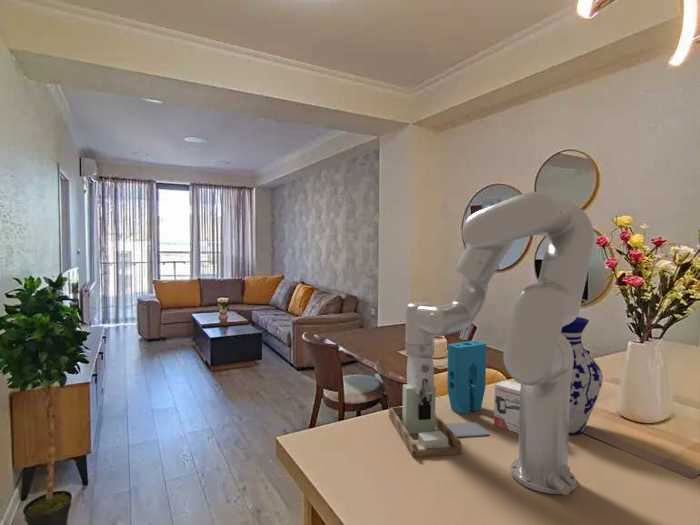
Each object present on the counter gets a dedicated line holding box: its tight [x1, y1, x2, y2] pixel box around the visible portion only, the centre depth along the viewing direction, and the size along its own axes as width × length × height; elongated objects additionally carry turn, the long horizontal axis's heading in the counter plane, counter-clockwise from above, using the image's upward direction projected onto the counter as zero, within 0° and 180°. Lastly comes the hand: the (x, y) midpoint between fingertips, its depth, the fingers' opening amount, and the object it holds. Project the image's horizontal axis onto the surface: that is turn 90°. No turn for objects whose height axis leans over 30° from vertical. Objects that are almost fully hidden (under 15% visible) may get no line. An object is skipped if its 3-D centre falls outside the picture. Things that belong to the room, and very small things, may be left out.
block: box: [446, 340, 487, 415], centre depth 125 cm, size 12×5×20 cm, turn 119°
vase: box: [561, 316, 604, 436], centre depth 113 cm, size 19×19×30 cm
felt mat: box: [445, 421, 491, 439], centre depth 110 cm, size 8×11×1 cm
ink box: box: [493, 380, 521, 434], centre depth 112 cm, size 8×5×12 cm, turn 43°
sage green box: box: [401, 383, 437, 435], centre depth 110 cm, size 4×8×12 cm, turn 98°
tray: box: [388, 406, 462, 458], centre depth 108 cm, size 23×12×3 cm, turn 9°
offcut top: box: [417, 430, 449, 449], centre depth 100 cm, size 4×6×2 cm, turn 103°
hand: (418, 411), depth 110 cm, fingers open, 9 cm apart
